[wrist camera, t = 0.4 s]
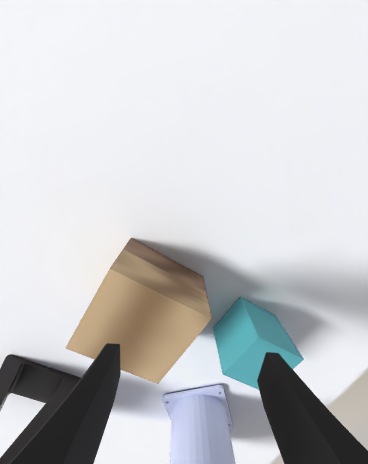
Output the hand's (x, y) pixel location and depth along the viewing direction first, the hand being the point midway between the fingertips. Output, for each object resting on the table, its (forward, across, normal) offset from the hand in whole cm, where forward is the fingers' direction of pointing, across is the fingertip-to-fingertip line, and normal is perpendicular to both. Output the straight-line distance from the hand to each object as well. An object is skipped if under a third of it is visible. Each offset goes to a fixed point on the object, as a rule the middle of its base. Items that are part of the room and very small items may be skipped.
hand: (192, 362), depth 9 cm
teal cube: (+10, -7, +6) cm, 14 cm away
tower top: (+7, +4, +3) cm, 8 cm away
